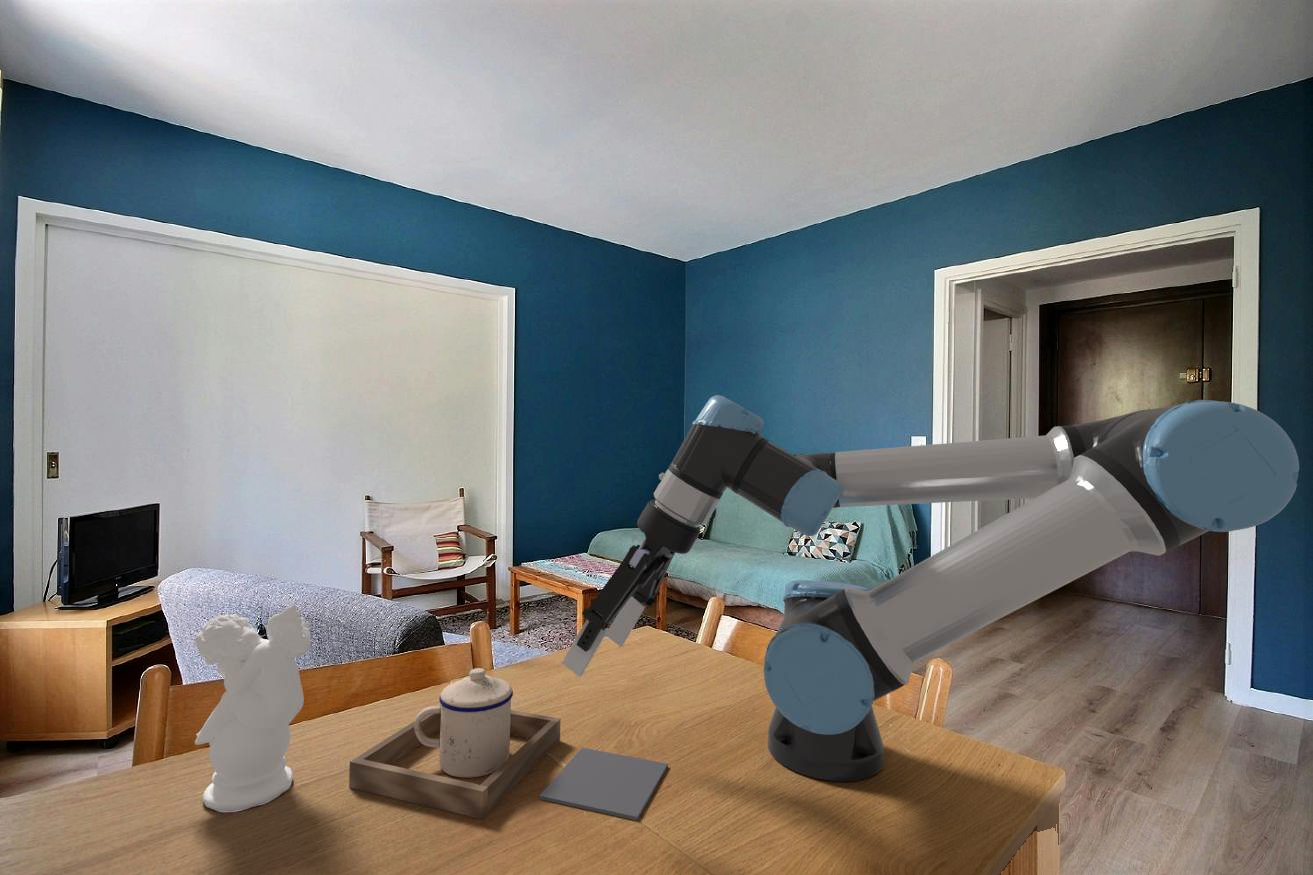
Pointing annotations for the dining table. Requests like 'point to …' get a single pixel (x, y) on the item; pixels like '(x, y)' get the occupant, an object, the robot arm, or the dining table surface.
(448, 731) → the teacup with lid
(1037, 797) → the dining table surface
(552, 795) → the charcoal mat
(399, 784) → the walnut box
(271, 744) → the cherub figurine
